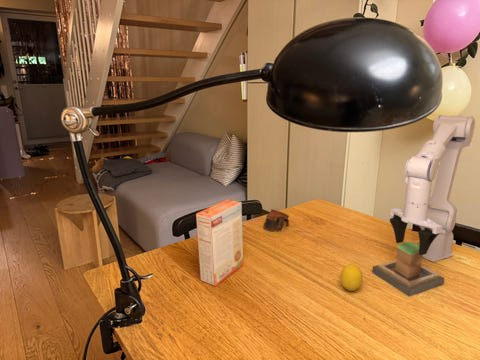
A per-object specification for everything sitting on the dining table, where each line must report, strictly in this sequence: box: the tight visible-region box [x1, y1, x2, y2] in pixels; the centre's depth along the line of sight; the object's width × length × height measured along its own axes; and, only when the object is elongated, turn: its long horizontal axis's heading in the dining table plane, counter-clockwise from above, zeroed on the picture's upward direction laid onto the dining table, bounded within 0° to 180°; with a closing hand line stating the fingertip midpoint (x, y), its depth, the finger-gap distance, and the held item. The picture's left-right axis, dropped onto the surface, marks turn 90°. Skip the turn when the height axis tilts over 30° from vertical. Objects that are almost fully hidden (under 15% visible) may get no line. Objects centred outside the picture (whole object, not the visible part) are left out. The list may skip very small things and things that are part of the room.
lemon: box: [339, 263, 363, 292], centre depth 91 cm, size 6×6×8 cm
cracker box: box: [195, 198, 244, 287], centre depth 99 cm, size 14×6×21 cm, turn 145°
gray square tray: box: [371, 259, 445, 297], centre depth 97 cm, size 13×13×3 cm
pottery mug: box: [263, 209, 290, 233], centre depth 132 cm, size 12×10×8 cm
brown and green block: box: [395, 241, 423, 278], centre depth 96 cm, size 4×4×8 cm
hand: (410, 247), depth 95 cm, fingers open, 7 cm apart
